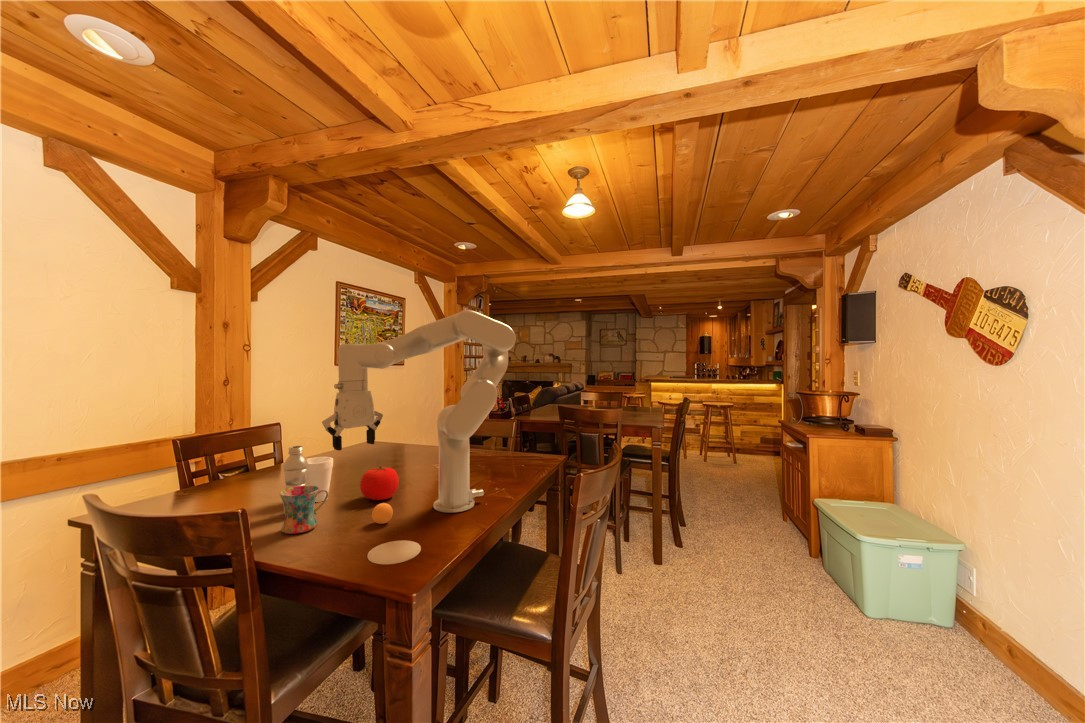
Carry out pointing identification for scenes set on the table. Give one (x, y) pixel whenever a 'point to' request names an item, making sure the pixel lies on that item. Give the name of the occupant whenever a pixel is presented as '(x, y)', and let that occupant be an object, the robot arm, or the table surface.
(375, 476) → the tomato
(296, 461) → the plastic bottle
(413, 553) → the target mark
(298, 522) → the mug
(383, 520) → the ball
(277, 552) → the table surface
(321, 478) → the foam cup
